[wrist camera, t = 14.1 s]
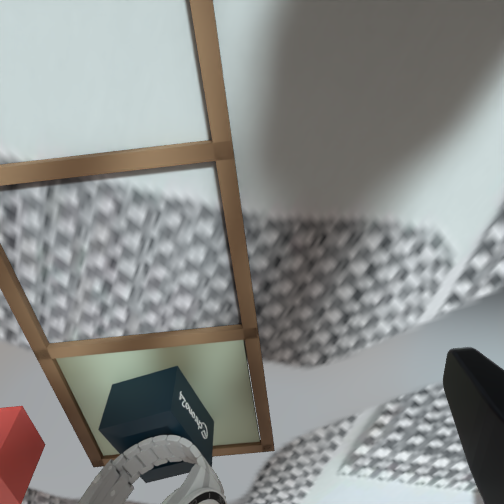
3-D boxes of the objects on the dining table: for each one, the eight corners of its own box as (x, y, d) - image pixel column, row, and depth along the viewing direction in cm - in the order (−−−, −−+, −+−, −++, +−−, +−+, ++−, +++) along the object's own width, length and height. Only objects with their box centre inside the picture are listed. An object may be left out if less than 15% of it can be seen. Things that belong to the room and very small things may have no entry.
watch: (242, 414, 28) (244, 629, 19) (130, 443, 30) (81, 658, 20) (207, 355, 26) (190, 575, 16) (85, 390, 27) (4, 612, 18)
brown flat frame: (184, -204, 13) (183, -209, 13) (274, 445, 31) (274, 450, 30) (-216, -146, 14) (-228, -149, 13) (95, 461, 31) (93, 467, 31)
